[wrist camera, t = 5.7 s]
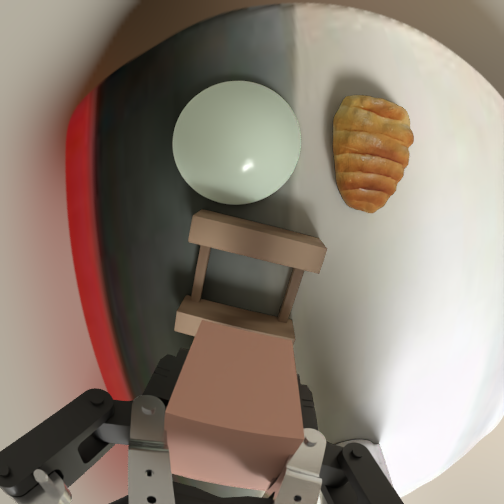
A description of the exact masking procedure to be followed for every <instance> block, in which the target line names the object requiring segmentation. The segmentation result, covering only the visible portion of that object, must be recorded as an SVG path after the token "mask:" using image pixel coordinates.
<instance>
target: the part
mask: <svg viewBox="0 0 504 504" xmlns="http://www.w3.org/2000/svg"><path fill="white" fill-rule="evenodd" d="M164 430H166V431H167V443H168V446H169V454H170V465H171V473H173V474H176V475H180V476H184V477H188V478H192V479H196V480H201V481H205V482H210V483H215V484H220V485H226V486H232V487H239V488H246V489H254V490H264V491H266V489H267V487H268V485H269V482H270V481H271V479H272V478H277V477H278V476H279V474H280V473H281V471H282V468H283V466H284V463H285V460H286V459H287V458H288V456H289V455H294V454H295V452H296V451H297V450H298V448H299V447H300V445H301V444H302V442H303V441H304V439H305V438H304V429H303V421H302V413H301V405H300V397H299V389H298V381H297V373H296V366H295V359H294V351H293V344H292V340H287V339H282V338H277V337H273V336H268V335H263V334H259V333H254V332H250V331H245V330H241V329H237V328H233V327H229V326H225V325H221V324H217V323H213V322H209V321H205V320H202V321H201V323H200V326H199V328H198V330H197V333H196V335H195V338H194V340H193V343H192V345H191V348H190V350H189V353H188V355H187V358H186V360H185V363H184V365H183V368H182V370H181V373H180V375H179V378H178V380H177V383H176V385H175V388H174V390H173V393H172V395H171V398H170V401H169V403H168V406H167V408H166V411H165V420H164Z"/></svg>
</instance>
